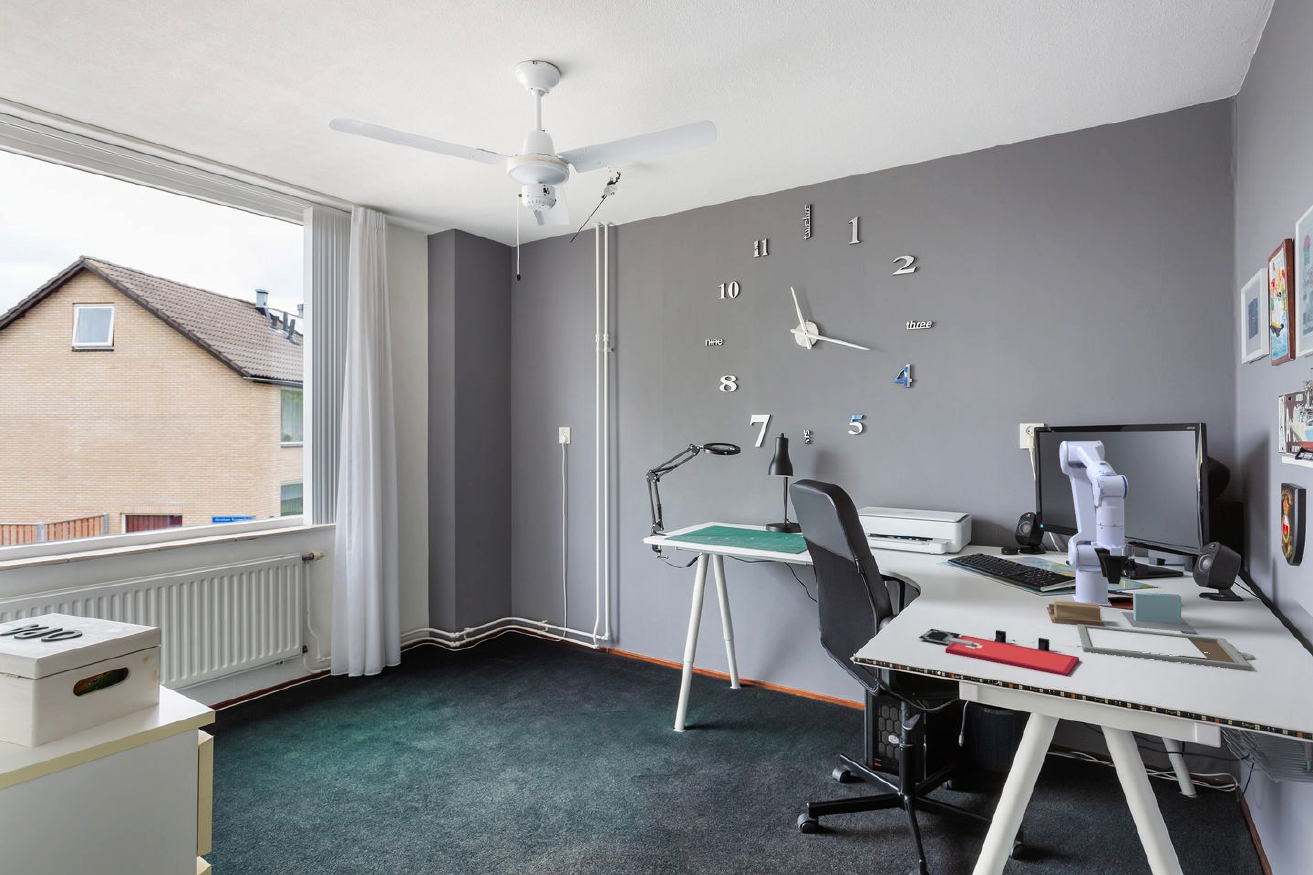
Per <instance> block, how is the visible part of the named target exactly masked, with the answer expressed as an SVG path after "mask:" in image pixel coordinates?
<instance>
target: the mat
mask: <svg viewBox="0 0 1313 875" xmlns="http://www.w3.org/2000/svg"><path fill="white" fill-rule="evenodd" d="M1121 614H1122V615H1123V616H1124V617H1125V618H1126V620H1127V621H1128V623H1129V625H1131V627H1133V628H1138V629H1139V628H1140V629H1141V628H1142V629H1151V630H1164V631H1175V632H1180V633H1181V634H1185V633H1186V634H1185V635H1198V632H1197V630H1195V629H1194V628H1193V627H1192V626H1191V625H1190V624H1189V623H1188V622H1187V621H1186V620H1185V619H1183V618H1182V617H1181V624H1170V623H1156V622H1142V621H1135V620H1134V618H1133V612H1127V611H1121Z"/></svg>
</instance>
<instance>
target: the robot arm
mask: <svg viewBox="0 0 1313 875" xmlns="http://www.w3.org/2000/svg"><path fill="white" fill-rule="evenodd" d="M1105 456H1106V452H1105V444H1103V442H1102V441H1101V440H1096V441H1095V440H1093V441H1091V440H1090V441H1085V440H1083V441H1082V440H1081V441H1079V440H1078V441H1066V440H1063V441H1062V442H1060V445H1059V461H1060V462H1059V463H1060V468H1061V470H1062V474H1065V475H1067V476H1068V478H1069V481H1070V485H1071V490H1072V491H1071V492H1072V497H1073V504H1074V506H1073V507H1074V511H1075V519H1076V525H1077V532H1078V533H1076V534H1074V535H1073V536H1071V537H1070V538H1069V540H1068V543H1067V546H1068V547H1067V550H1068V552H1067V558H1068V563H1069V565H1070V566H1071V567H1072V568H1074V569H1075V594H1072V595H1071V596H1072V598H1073V599H1074V602H1082V603H1095V604H1098V605H1099V606H1106V607H1112V604H1111V601H1109V599H1108V598H1109V592H1108V591H1109V589H1108V588H1109V585H1112V584H1113V585H1120V582H1121V580H1122V575H1123V570H1124V567H1125V565H1126V563H1127V562H1128V560H1129V559H1130V557H1129V556H1128V555H1122V550H1123V549H1125V548H1126V545H1127V544H1126V543H1125V540H1126V539H1125V536H1126V535H1125V500H1127V498H1128V494H1129V483H1128V479H1127V477H1126V476H1125V475H1123V474H1117V473H1116V471H1115V470H1114V468H1113V467H1112V466H1111V464H1110V463H1109V462H1107V461H1106V460H1104V459H1105ZM1108 584H1109V585H1108ZM1108 601H1109V602H1108Z"/></svg>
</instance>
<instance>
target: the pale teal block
mask: <svg viewBox="0 0 1313 875" xmlns="http://www.w3.org/2000/svg"><path fill="white" fill-rule="evenodd" d="M1132 594H1133V595H1132V596H1133V597H1132V600H1133V602H1132V603H1133V604H1132V607H1133V610H1132V613H1133V618H1134V620H1135V621H1142V622H1156V623H1170V624H1181V618H1182V596H1181V595H1179V594H1173V593H1172V594H1171V593H1159V592H1157V593H1156V592H1155V593H1154V592H1141V591H1140V592H1138V591H1133V592H1132Z"/></svg>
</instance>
